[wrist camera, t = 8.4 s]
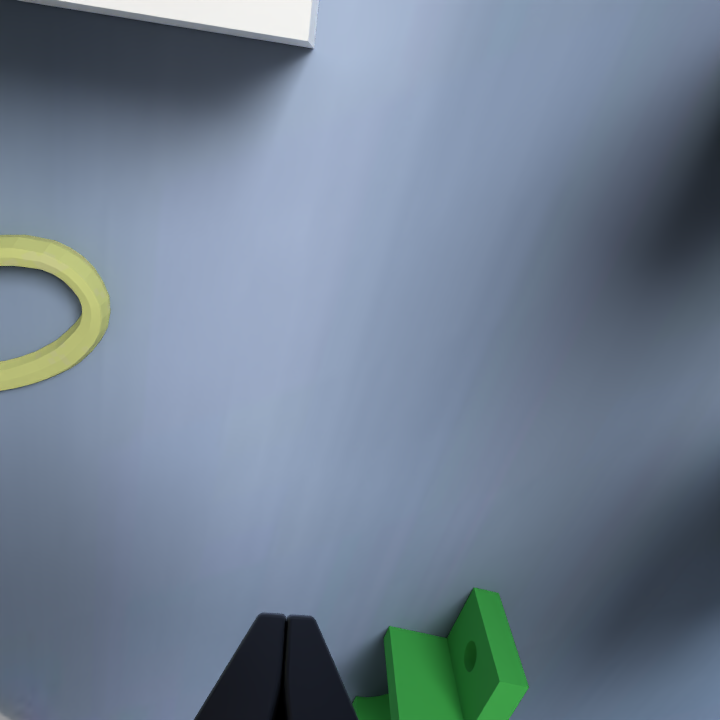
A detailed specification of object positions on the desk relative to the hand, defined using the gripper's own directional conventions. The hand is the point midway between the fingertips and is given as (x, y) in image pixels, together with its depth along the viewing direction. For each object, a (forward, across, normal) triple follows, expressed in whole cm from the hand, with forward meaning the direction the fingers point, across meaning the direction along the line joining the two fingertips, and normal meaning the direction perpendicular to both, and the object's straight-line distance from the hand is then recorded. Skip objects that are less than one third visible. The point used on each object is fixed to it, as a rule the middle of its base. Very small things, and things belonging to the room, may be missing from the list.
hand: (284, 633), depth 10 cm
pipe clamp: (+12, -6, +16) cm, 21 cm away
